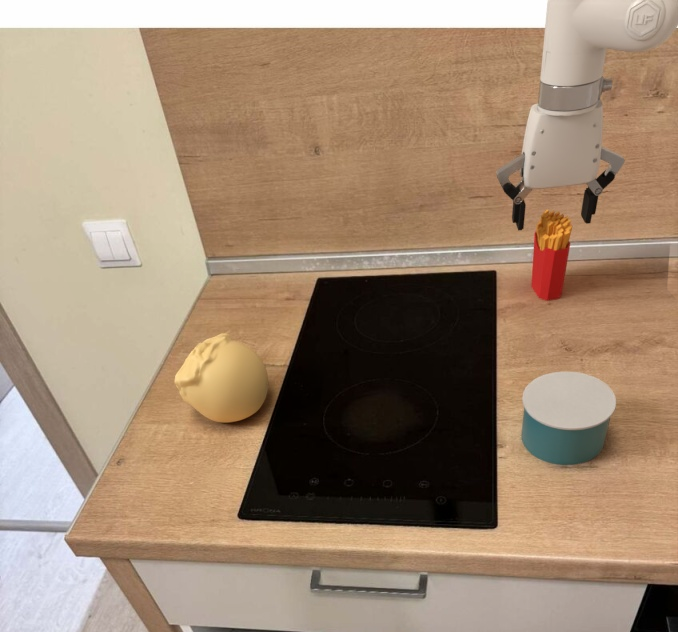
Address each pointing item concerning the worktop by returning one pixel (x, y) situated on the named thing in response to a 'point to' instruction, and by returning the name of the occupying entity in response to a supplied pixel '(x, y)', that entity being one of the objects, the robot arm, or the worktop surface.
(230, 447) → the worktop surface
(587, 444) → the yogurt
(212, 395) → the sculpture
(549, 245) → the french fries
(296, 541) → the worktop surface
